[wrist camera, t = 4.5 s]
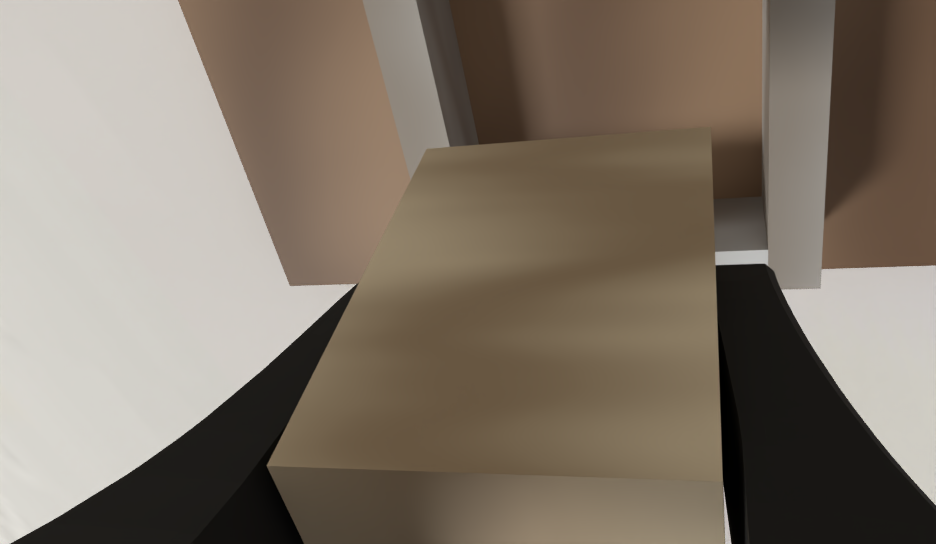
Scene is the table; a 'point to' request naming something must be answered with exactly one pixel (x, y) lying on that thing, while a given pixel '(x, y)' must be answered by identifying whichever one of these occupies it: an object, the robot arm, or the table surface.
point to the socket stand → (587, 112)
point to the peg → (525, 356)
